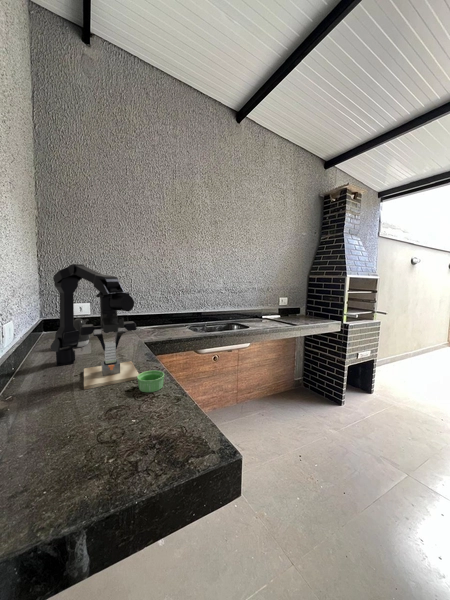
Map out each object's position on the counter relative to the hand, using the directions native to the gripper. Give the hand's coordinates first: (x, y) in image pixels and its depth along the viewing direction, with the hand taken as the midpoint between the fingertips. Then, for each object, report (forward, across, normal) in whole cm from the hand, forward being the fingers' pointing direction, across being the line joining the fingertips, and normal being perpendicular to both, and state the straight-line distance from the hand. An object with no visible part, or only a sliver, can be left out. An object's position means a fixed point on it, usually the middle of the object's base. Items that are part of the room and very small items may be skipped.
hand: (110, 349), depth 92 cm
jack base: (+10, 0, 0) cm, 10 cm away
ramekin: (+10, +11, -18) cm, 23 cm away
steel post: (+5, 0, 0) cm, 5 cm away
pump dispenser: (+10, -11, +51) cm, 53 cm away
